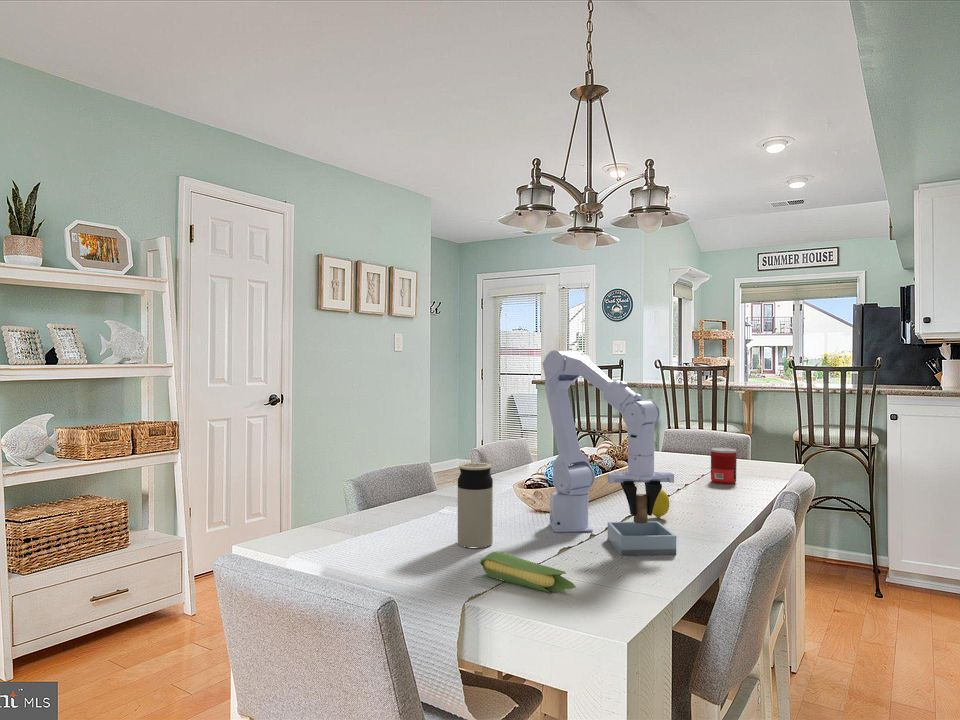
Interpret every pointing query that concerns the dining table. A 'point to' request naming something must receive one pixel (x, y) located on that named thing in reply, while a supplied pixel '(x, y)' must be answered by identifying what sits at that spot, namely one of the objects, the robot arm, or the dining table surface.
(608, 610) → the dining table surface
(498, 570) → the edible corn
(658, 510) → the lemon
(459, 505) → the travel mug
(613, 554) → the dining table surface
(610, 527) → the tray
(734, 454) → the canned food
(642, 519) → the peg
